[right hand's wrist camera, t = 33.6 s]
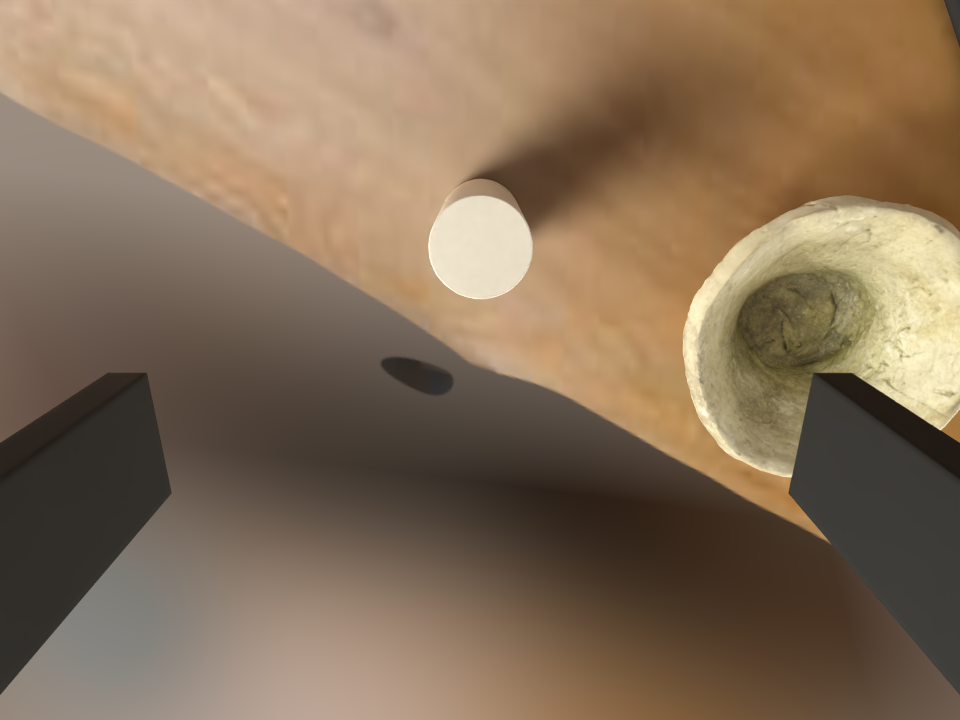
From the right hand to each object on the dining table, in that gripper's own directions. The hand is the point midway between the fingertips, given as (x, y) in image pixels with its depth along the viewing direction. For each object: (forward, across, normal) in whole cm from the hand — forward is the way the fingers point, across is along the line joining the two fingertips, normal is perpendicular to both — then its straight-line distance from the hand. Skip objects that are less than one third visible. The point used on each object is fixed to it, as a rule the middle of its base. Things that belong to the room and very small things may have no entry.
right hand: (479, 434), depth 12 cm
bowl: (+32, +22, -7) cm, 39 cm away
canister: (+32, 0, 0) cm, 32 cm away
